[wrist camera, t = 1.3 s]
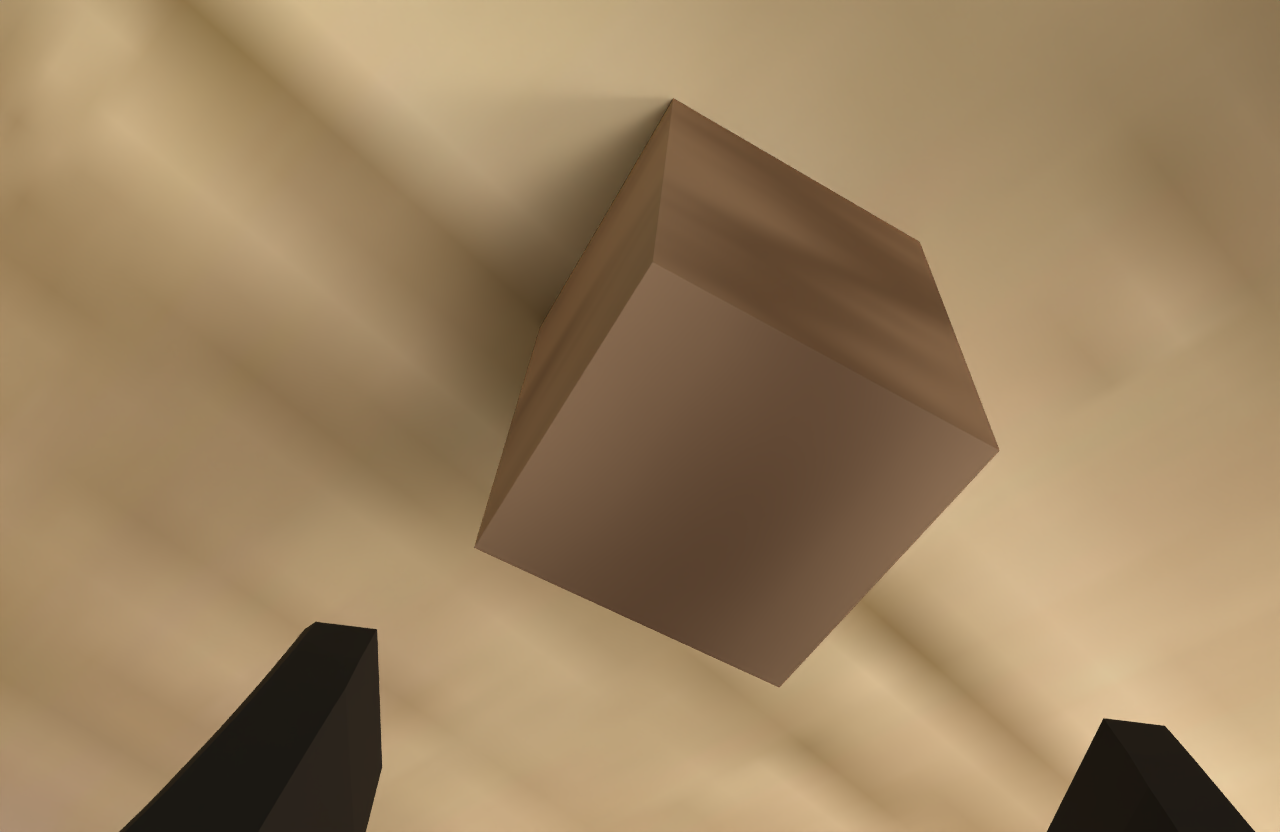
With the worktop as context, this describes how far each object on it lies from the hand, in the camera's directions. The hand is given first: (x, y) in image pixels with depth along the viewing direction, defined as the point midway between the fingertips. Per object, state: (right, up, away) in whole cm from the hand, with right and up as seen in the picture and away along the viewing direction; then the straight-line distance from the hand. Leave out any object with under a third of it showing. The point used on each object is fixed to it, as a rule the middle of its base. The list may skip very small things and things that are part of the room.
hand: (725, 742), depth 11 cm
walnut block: (+1, +6, +9) cm, 10 cm away
